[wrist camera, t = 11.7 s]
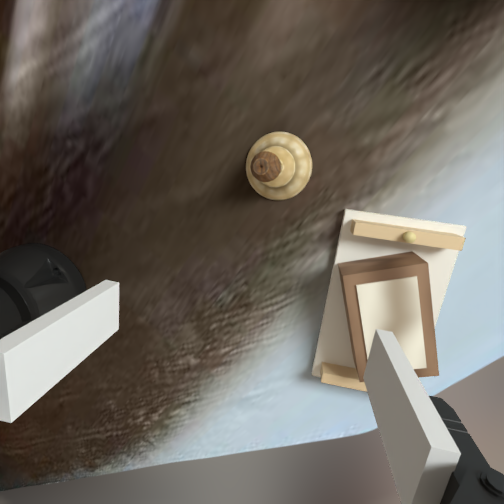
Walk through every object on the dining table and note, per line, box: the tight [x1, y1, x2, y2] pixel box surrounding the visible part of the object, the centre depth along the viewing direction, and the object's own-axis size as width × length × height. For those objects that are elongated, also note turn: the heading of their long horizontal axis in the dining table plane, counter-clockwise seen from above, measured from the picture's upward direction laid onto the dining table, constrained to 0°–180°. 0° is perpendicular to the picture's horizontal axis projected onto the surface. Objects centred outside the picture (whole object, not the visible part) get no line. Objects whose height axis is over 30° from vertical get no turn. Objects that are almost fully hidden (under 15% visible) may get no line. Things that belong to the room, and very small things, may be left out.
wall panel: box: [312, 209, 466, 392], centre depth 40 cm, size 14×24×4 cm, turn 173°
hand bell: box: [246, 132, 312, 200], centre depth 32 cm, size 8×8×16 cm
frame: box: [338, 251, 439, 382], centre depth 38 cm, size 9×14×5 cm, turn 12°
